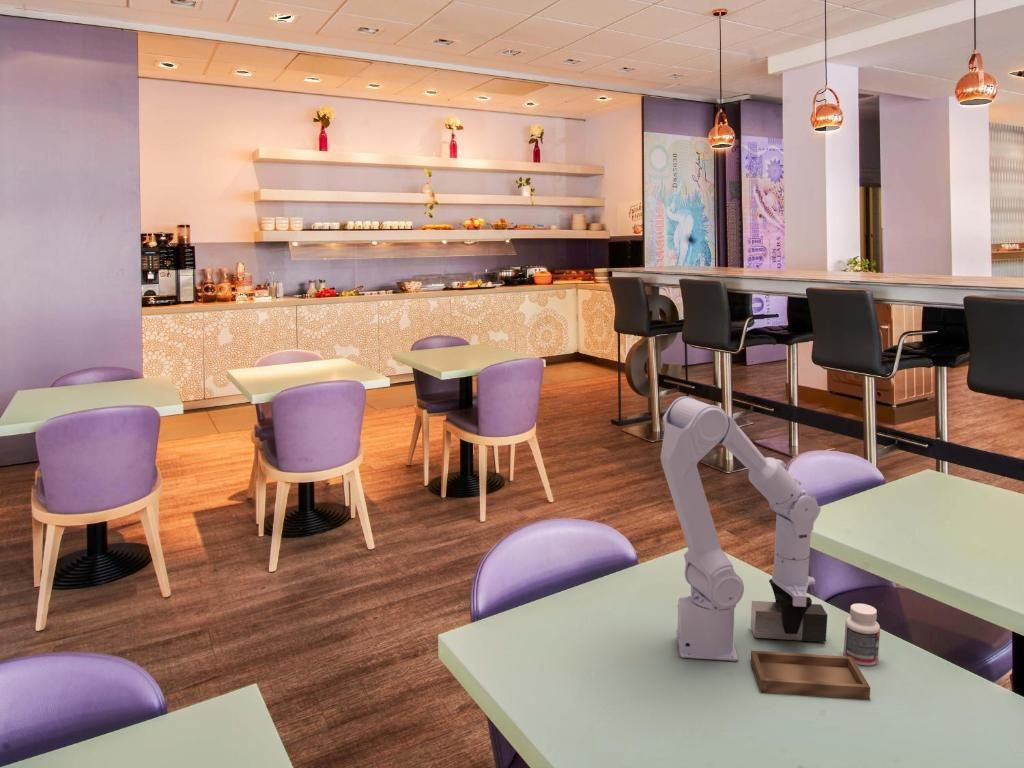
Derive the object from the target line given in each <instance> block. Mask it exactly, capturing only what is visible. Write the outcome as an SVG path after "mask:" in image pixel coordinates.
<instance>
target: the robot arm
mask: <svg viewBox="0 0 1024 768" xmlns="http://www.w3.org/2000/svg"><path fill="white" fill-rule="evenodd" d="M662 421H663V426H664V431H663V438H662V445H661V451H660V462H661V466H662V469H663V473H664V476H665V479H666V482H667V485H668V488H669V491H670V492H669V493H670V495H671V498H672V501H673V505H674V508H675V511H676V514H677V517H678V521H679V524H680V527H681V530H682V533H683V537H684V540H685V543H686V546H687V551H685V553H684V554H683V558H684V561H685V566H684V577H685V580H686V582H687V583H688V584H689V585H690V595H688V596H686V597H685V596H684V597H678V602H677V607H678V608H677V628H676V631H675V632H676V635H675V636H676V640H677V643H678V644H677V645H678V649H679V650H678V651H679V656H680V657H681V658H686V659H688V658H689V659H698V660H700V659H702V660H716V661H717V660H718V661H731V662H737V661H739V656H738V652H737V650H736V645H735V643H734V628H735V608H736V607H737V606H736V605H738V603H740V601H741V599H742V598H743V595H744V592H745V585H744V580H743V579H742V578H741V576H740V575H739V574H737V572H735V569H734V567H733V566H734V565H733V564H732V562H731V560H730V559H729V558H728V556H727V555H726V554H725V552H724V550H723V548H722V546H721V543H720V539H719V536H718V534H717V529H716V526H715V523H714V519H713V516H712V513H711V510H710V507H709V502H708V499H707V496H706V492H705V489H704V486H703V483H702V479H701V477H700V473H699V469H698V466H697V465H698V463H699V462H700V460H702V459H703V458H704V457H705V456H706V455H707V454H708V453H709V452H710V451H711V450H712V449H713V448H715V447H716V445H717V444H719V445H723V446H724V448H725V449H726V450H728V452H729V453H731V454H732V455H733V456H734V457H735V458H736V459H737V460H738V461H739V462H740V463H741V464H742V465H743V466H744V467H745V468H747V469H748V480H749V482H750V484H752V485H753V486H754V487H755V488H756V489H757V491H758V492H759V493H760V494H762V496H763V497H764V498H765V499H766V500H767V501H768V503H769V508H770V510H771V511H774V512H775V513H776V516H775V517H776V519H775V521H776V522H775V534H774V535H775V537H774V538H775V540H774V558H773V572H772V575H771V579H769V580H768V582H769V584H770V587H771V589H772V591H773V595H774V600H775V601H774V602H779V604H780V607H781V612H782V621H783V628H784V632H785V633H786V634H797V633H798V631H799V628H800V625H801V622H802V619H803V616H804V614H805V612H806V611H807V609H808V608H809V607H810V606H811V604H813V600H812V598H811V597H810V596H808V595H807V591H808V590H809V589H808V588H809V585H811V586H813V585H815V584H816V580H815V578H814V577H813V576H809V572H810V571H809V570H810V567H809V566H810V555H811V554H810V551H811V549H810V548H811V536H812V532H813V531H814V523H815V521H816V520H817V518H818V517H819V516H820V512H821V507H820V506H819V505H818V504H819V503H818V500H817V498H816V496H815V495H814V494H812V493H811V492H809V491H807V490H804V489H803V488H802V486H801V485H802V481H800V480H799V479H798V478H794V477H793V475H791V474H790V473H789V471H787V469H786V467H787V464H786V463H785V462H784V461H783V460H781V459H779V458H777V459H776V458H775V457H770V456H769V457H765V456H764V455H763V454H762V453H761V451H759V449H758V448H757V447H756V445H755V444H754V443H753V442H752V440H750V438H749V437H748V436H747V434H746V433H745V432H744V431H743V430H742V429H741V428H740V426H739V425H738V424H737V422H736V421H735V419H734V418H733V417H731V416H730V415H728V414H727V413H726V411H725V410H724V409H722V408H721V407H720V406H717V405H713V404H712V405H711V404H708V403H706V402H702V401H700V400H697V399H696V398H694V397H691V396H680V397H678V398H676V399H674V401H672V402H671V404H670V405H669V407H668V409H667V411H666V412H665V413H664V415H663V416H662Z"/></svg>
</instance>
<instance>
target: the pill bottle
mask: <svg viewBox="0 0 1024 768" xmlns="http://www.w3.org/2000/svg"><path fill="white" fill-rule="evenodd" d="M877 611H878V610H877V609H876V608H875V607H874V606H872V605H869V604H866V603H853V604H851V605H850V609H849V614H850V616H848V617H847V618H846V620H845V623H844V624H845V626H844V627H845V629H844V641H843V642H844V643H843V656H849V657H853V659H854V661H855V662H856V664H857V666H867V667H868V666H869V667H870V666H874V665H876V664H877V663H878V661H879V660H878V659H879V647H880V634H881V626H880V624H879V623H878V622H877V619H878V614H877V613H878V612H877Z"/></svg>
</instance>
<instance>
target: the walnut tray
mask: <svg viewBox="0 0 1024 768" xmlns="http://www.w3.org/2000/svg"><path fill="white" fill-rule="evenodd" d="M749 662H750V665H751V667H752V670H753V673H754V675H755V676H754V677H755V680H756V682H757V685H758V686H757V687H758V688H759V691H760V693H767V694H768V693H769V694H782V695H794V696H795V695H796V696H797V695H799V696H810V697H811V696H812V697H825V698H839V699H841V698H842V699H852V700H853V699H854V700H868V701H869V700H870V698H871V686H870V684H869V683H868V680H867V679H866V678H865V676H864V674H863V672H862V671H861V668H859V665H858V664H856V662H855V661H854V659H853V657H849V656H844V655H834V654H833V655H831V654H829V655H828V654H814V653H813V654H812V653H799V652H784V651H783V652H780V651H766V650H750V661H749Z"/></svg>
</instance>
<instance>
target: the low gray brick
mask: <svg viewBox="0 0 1024 768" xmlns="http://www.w3.org/2000/svg"><path fill="white" fill-rule="evenodd" d="M827 627H828V613H827V612H826V610H825V608H824V606H823V605H822V604H819V603H818V604H817V603H815V604H814V603H812V604H811V606H810V607H809V608H808V609H807V611H806V612H805V614H804V616H803V619H802V622H801V625H800V628H799V631H798V633H797V634H786V633H785V632H784V628H783V621H782V612H781V607H780V604H779V602H776V601H764V600H762V601H761V600H751V609H750V629H751V632H752V634H753V638H755V639H756V638H758V639H772V640H773V639H777V640H789V641H791V640H792V641H793V640H794V641H806V642H807V641H808V642H821V643H822V642H823V643H825V642H827V630H828V629H827Z"/></svg>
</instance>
